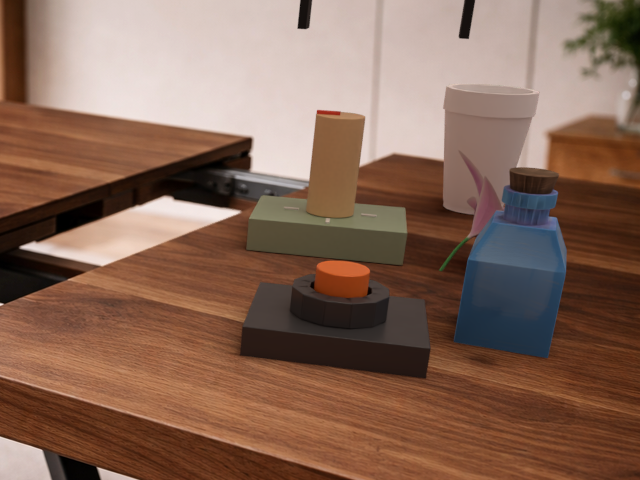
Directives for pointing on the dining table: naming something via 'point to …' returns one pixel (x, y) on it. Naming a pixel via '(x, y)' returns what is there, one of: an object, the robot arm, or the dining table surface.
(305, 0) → the robot arm
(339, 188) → the handle
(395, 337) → the button block
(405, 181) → the dining table surface
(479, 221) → the lily
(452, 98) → the foam cup
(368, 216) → the panel
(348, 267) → the button
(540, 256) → the perfume bottle
